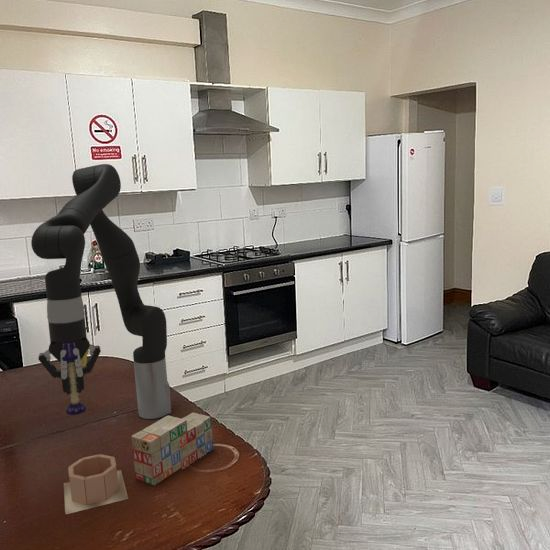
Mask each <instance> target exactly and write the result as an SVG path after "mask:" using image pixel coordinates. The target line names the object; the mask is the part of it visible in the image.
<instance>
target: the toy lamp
mask: <svg viewBox="0 0 550 550" xmlns="http://www.w3.org/2000/svg"><path fill="white" fill-rule="evenodd" d="M75 347H76V346H75V344H74V342H73V341H72V342H64V343H63V345H62V349H64V350H66V354H65V356H64V357H63V358H62V360H63V361H72V360H76V359H78V357H77V355H74V353H73V349H74V348H75ZM60 360H61V355H60ZM67 365H68V366H67V370H68V373H67V375H68V377H69V388H70V394H69V395H70V396H69V397H70V402H71V403H70V404H69V405H68V406H66V410H65V413H66V414H67V415H70V416H76V415H81V414H83V413H85V412H86V411H87V407H86V405H85V404H84V403H83V402H81V401H80V398H79V394H80V393H78V385H77V374H76V371H75V370H76V366H75V362H70V363H67Z"/></svg>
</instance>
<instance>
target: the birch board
mask: <svg viewBox="0 0 550 550" xmlns="http://www.w3.org/2000/svg"><path fill="white" fill-rule="evenodd" d="M117 476H118V486H119V490H118V491H117V492H116V493H115V494H114V495H112V496H111V497H110V498H109V499H108V500H105V501H101V502H97V503H93V504H89V505H85V504H81V503H77V502H73V501H72V497H71V489H70V481H68V482H63V496H64V512H65V513H64V514H65V515H70V514H73V513H78V512H81V511H86V510H90V509H93V508H97V507H101V506H105V505H106V506H107V505H108V504H113V503H116V502H121V501H126V500H129V496H128V495H129V494H128V493H127V488H126V484H125V480H124V476H123V473H122V469H119V470H117Z"/></svg>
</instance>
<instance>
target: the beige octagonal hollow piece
mask: <svg viewBox="0 0 550 550" xmlns="http://www.w3.org/2000/svg"><path fill="white" fill-rule="evenodd" d="M67 468H68V469H67V470H68V479H69V482H70V489H71V497H72V501H73V502H77V503H81V504H85V505H89V504H93V503H97V502H101V501H105V500H108V499H109V498H110V497H111V496H112V495H114V494H115V493H116V492H117V491H118V490H119V486H118V476H117V471H118V469H117V463H116V458H115V456H113V455H111V456H110V455H106V454H101V453H100V454H95V455H94V454H93V455H90V456H84V457H82V458H80V459H78V460H76V461H75V462H74V463H72V464H70V465H69V466H68V467H67Z"/></svg>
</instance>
